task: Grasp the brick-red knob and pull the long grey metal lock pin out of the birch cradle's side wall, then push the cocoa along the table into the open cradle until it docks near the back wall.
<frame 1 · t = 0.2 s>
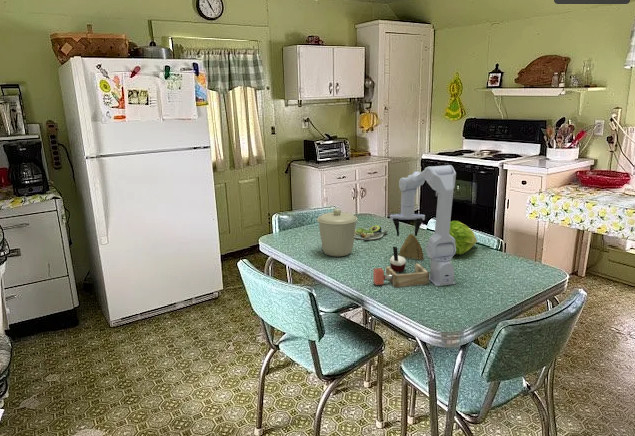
hand: (406, 235, 200), 10 cm above the table, tool pointing down, fingers open, 7 cm apart
salad plate: (368, 236, 235), on the table
lettuce: (457, 252, 208), on the table
lock pin: (388, 275, 174), point 3 cm above the table, slide at 0.0 cm
dock: (406, 279, 178), on the table
rock: (411, 257, 203), on the table
canister: (337, 253, 210), on the table
cocoa: (397, 271, 187), on the table
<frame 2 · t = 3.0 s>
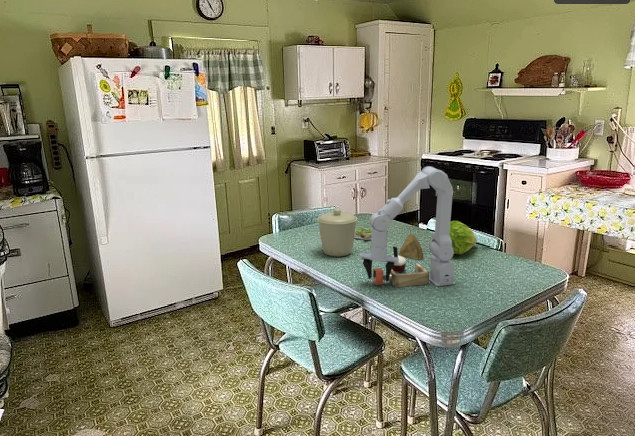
hand: (378, 279, 174), 2 cm above the table, tool pointing down, fingers open, 6 cm apart
lock pin: (388, 275, 174), point 3 cm above the table, slide at 0.1 cm, touching gripper
everything else where it was.
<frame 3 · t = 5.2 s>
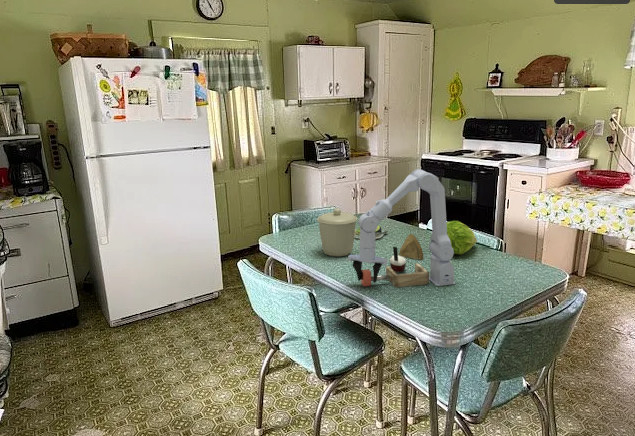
hand: (367, 280, 172), 2 cm above the table, tool pointing down, fingers closed on lock pin, 5 cm apart
lock pin: (375, 276, 173), point 3 cm above the table, slide at 5.0 cm, touching gripper
everything else where it was.
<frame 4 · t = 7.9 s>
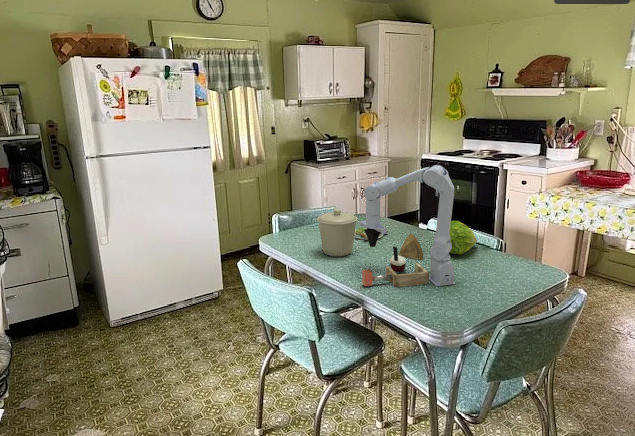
hand: (372, 246, 187), 10 cm above the table, tool pointing down, fingers closed
lock pin: (377, 276, 173), point 3 cm above the table, slide at 4.5 cm
everything else where it was.
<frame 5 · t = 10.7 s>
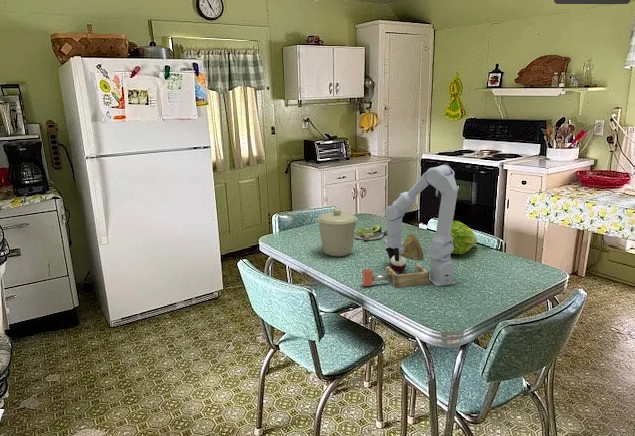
hand: (393, 264, 190), 1 cm above the table, tool pointing down, fingers closed, pressing on cocoa
cocoa: (397, 271, 187), on the table, touching gripper
everything else where it was.
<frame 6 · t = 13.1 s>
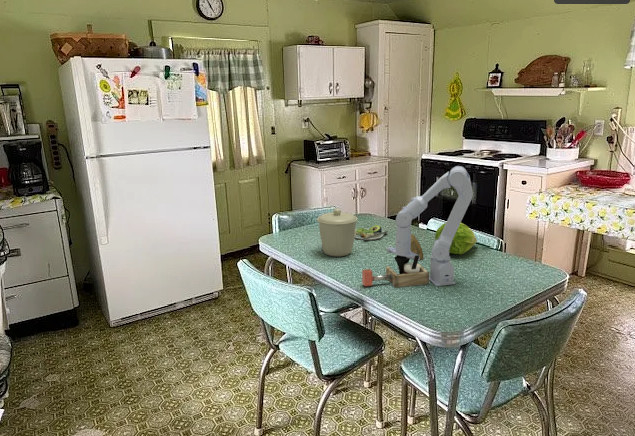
hand: (401, 273, 181), 1 cm above the table, tool pointing down, fingers closed
cocoa: (411, 279, 178), on the table, touching gripper
everything else where it was.
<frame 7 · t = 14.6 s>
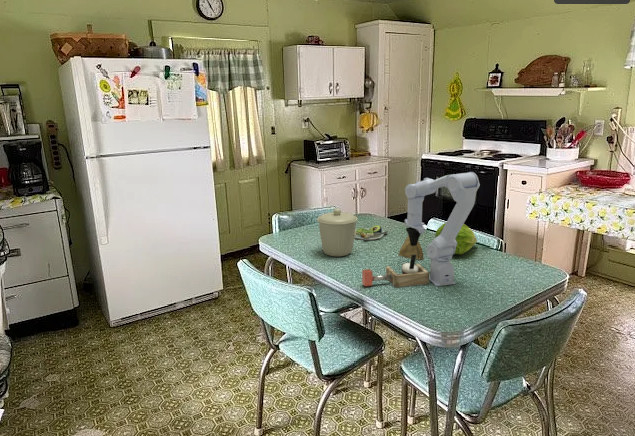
hand: (413, 245, 188), 10 cm above the table, tool pointing down, fingers closed
cocoa: (409, 280, 178), on the table
everything else where it was.
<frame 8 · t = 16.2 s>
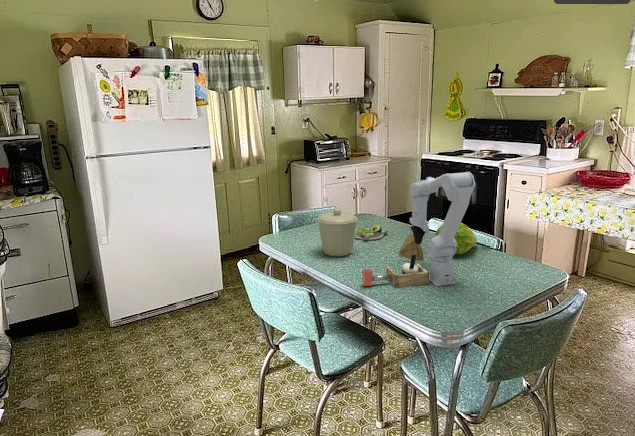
hand: (418, 243, 189), 10 cm above the table, tool pointing down, fingers closed
nothing on the table moved.
at the end: cocoa 1.5 cm off-centre on the dock, point 0.0 cm above the dock's base; cocoa tilted 0°; lock pin slide at 4.5 cm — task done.
